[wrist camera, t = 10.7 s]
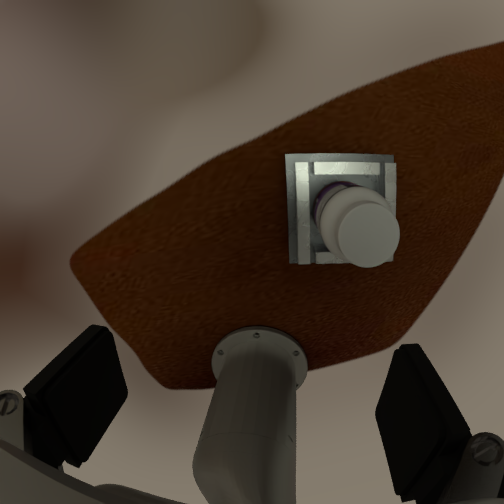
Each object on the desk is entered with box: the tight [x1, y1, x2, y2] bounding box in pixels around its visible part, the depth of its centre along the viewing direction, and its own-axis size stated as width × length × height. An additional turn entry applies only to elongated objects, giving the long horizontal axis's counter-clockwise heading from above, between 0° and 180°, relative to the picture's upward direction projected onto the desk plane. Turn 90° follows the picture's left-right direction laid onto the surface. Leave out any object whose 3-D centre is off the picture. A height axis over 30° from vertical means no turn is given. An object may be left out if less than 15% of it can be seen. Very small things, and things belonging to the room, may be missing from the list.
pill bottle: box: [313, 181, 400, 268], centre depth 21 cm, size 5×5×10 cm
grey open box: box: [285, 153, 396, 264], centre depth 27 cm, size 10×10×8 cm
